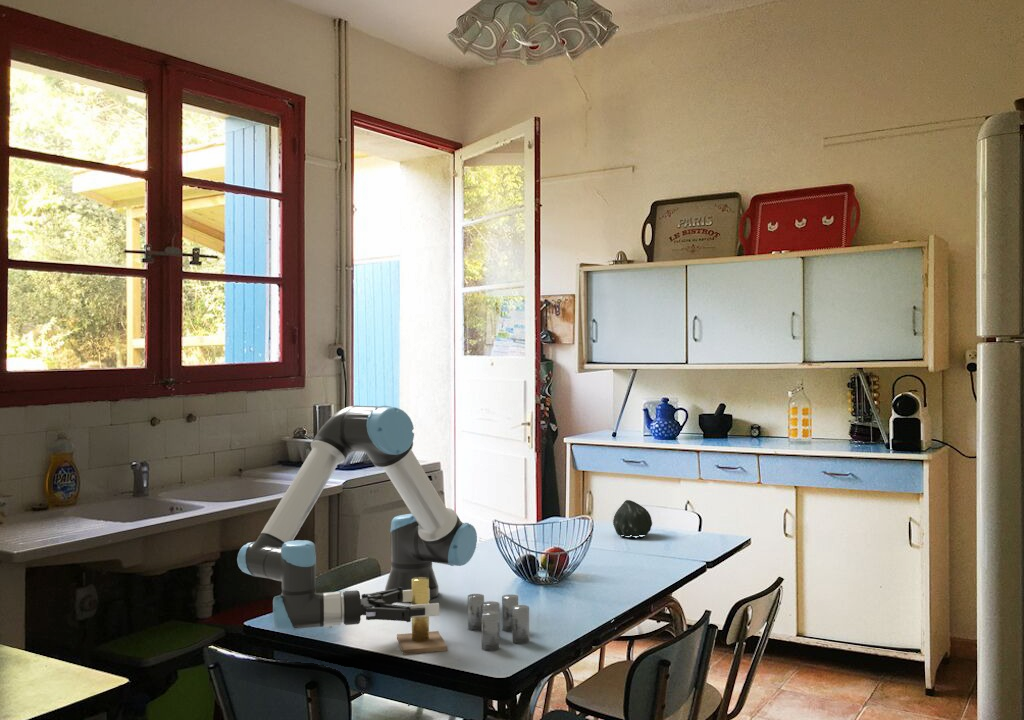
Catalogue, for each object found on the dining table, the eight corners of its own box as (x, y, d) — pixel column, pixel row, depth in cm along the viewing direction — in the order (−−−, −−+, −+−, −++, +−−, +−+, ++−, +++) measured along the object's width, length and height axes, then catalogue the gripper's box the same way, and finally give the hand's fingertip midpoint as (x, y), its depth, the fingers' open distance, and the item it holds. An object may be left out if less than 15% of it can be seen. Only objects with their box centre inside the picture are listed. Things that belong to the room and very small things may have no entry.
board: (396, 638, 208) (396, 634, 208) (438, 635, 211) (438, 631, 211) (403, 654, 197) (403, 649, 197) (446, 650, 199) (446, 646, 199)
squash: (657, 519, 339) (631, 490, 340) (660, 527, 324) (633, 497, 325) (630, 543, 340) (604, 514, 341) (631, 552, 325) (604, 522, 326)
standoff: (410, 637, 206) (410, 577, 206) (427, 635, 207) (427, 576, 207) (413, 642, 202) (412, 581, 202) (430, 640, 203) (429, 580, 203)
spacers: (466, 626, 218) (466, 594, 218) (513, 622, 221) (512, 591, 221) (484, 651, 198) (483, 616, 198) (534, 647, 201) (534, 612, 201)
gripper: (339, 610, 212) (426, 603, 218) (346, 640, 188) (443, 632, 194) (339, 579, 213) (425, 573, 218) (345, 606, 188) (443, 598, 194)
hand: (434, 601), depth 206 cm, fingers open, 13 cm apart
